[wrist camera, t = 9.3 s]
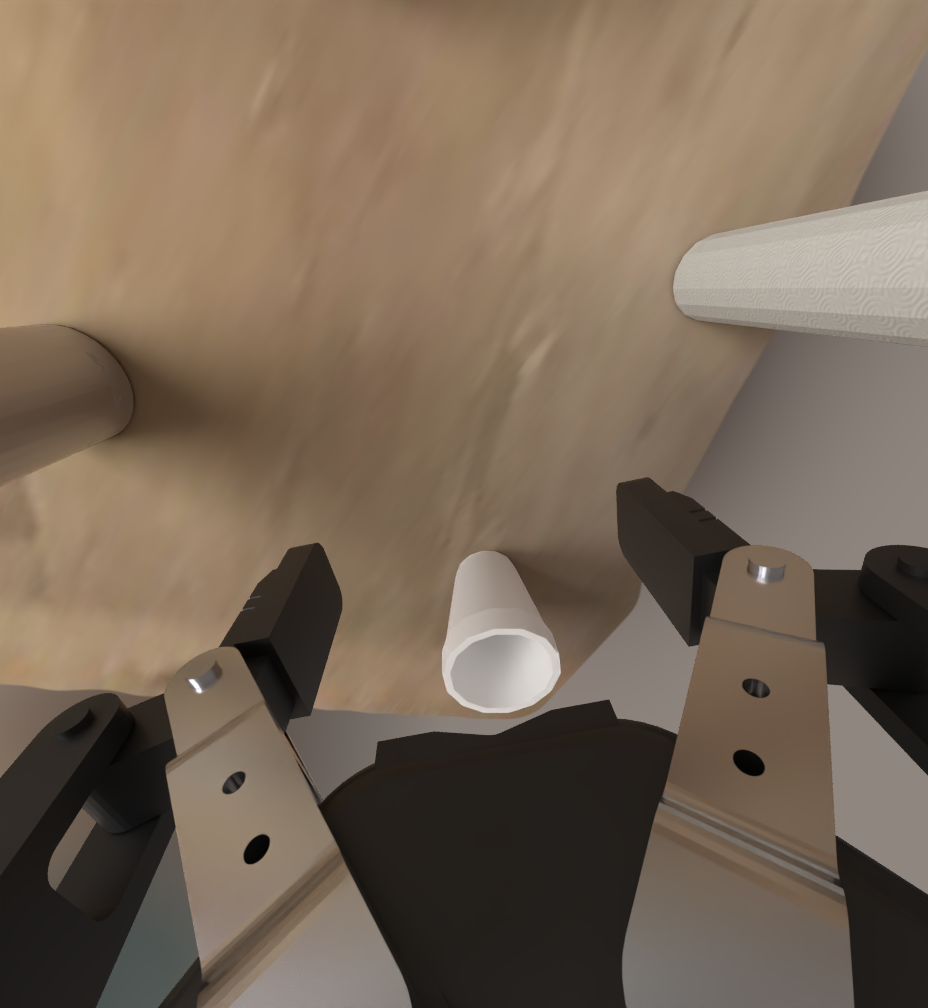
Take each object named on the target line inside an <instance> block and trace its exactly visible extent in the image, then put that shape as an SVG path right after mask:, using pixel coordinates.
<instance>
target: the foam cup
mask: <svg viewBox="0 0 928 1008" xmlns="http://www.w3.org/2000/svg"><path fill="white" fill-rule="evenodd" d="M442 674H443V678H444V682H445V685H446V689H447V692H448V693H449V694H450V695H451V696H452V697H454V698H455V699H456V700H457V701H458V702H459V703H460V704H461V705H462V706H465V707H468V708H471V709H474V710H477V711H480V712H483V713H510V712H513V711H516V710H519V709H522V708H525V707H528V706H531V705H533V704H535V703H536V702H537V701H539V700H540V699H541V698H543V697H544V696H545V695H547V694H548V693H549V692H551V691H552V689H553V687H554V685H555V683H556V681H557V679H558V677H559V676H560V674H561V671H560V659H559V653H558V650H557V647H556V644H555V641H554V638H553V635H552V632H551V631H550V630H549V629H548V627H547V626H546V625H545V624H544V622H543V620H542V618H541V616H540V614H539V612H538V610H537V608H536V607H535V605H534V603H533V601H532V599H531V597H530V595H529V593H528V591H527V589H526V587H525V585H524V584H523V582H522V580H521V578H520V576H519V574H518V572H517V570H516V568H515V567H514V565H513V564H512V562H511V561H510V560H509V559H508V557H507V556H505V555H503V554H500V553H498V552H496V551H480V552H477V553H474V554H472V555H469V556H468V557H467V558H466V559H465V560H464V561H463V562H462V563H461V564H460V565H459V568H458V571H457V574H456V578H455V584H454V591H453V598H452V604H451V611H450V617H449V624H448V631H447V637H446V641H445V644H444V647H443V650H442Z"/></svg>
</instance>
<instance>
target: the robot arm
mask: <svg viewBox="0 0 928 1008" xmlns="http://www.w3.org/2000/svg"><path fill="white" fill-rule="evenodd" d="M133 405H134V398H133V393H132V388H131V385H130V383H129V380H128V378H127V376H126V374H125V372H124V371H123V369H122V367H121V366H120V364H119V363H118V362H117V361H116V359H115V358H114V357H113V356H112V355H111V354H110V353H109V352H108V351H107V350H106V349H105V348H104V347H102V346H101V345H100V344H99V343H98V342H96V341H95V340H93V339H91V338H90V337H88V336H86V335H85V334H83V333H81V332H78V331H76V330H73V329H71V328H68V327H63V326H59V325H44V324H41V325H30V326H18V327H7V328H0V487H1V486H3V485H5V484H8V483H10V482H12V481H14V480H17V479H19V478H21V477H23V476H25V475H28V474H30V473H32V472H34V471H37V470H39V469H41V468H43V467H45V466H48V465H50V464H52V463H54V462H57V461H59V460H61V459H63V458H66V457H68V456H70V455H72V454H74V453H77V452H79V451H82V450H84V449H86V448H88V447H90V446H92V445H95V444H97V443H99V442H101V441H103V440H106V439H108V438H110V437H112V436H114V435H116V434H118V433H119V432H121V431H122V430H123V429H124V428H125V427H126V426H127V424H128V422H129V421H130V419H131V416H132V413H133ZM616 496H617V523H618V539H619V544H620V547H621V550H622V552H623V555H624V556H625V558H626V559H627V561H628V562H629V564H630V565H631V566H632V568H633V569H634V571H635V572H636V573H637V575H638V576H639V578H640V579H641V580H642V582H643V583H644V585H645V586H646V587H647V589H648V590H649V592H650V593H651V594H652V596H653V597H654V598H655V600H656V601H657V603H658V604H659V605H660V607H661V608H662V610H663V611H664V613H665V614H666V615H667V617H668V618H669V620H670V621H671V622H672V624H673V625H674V626H675V628H676V629H677V631H678V632H679V634H680V635H681V636H682V638H683V639H684V641H685V642H686V643H687V645H688V646H695V645H699V647H698V651H697V656H696V660H695V664H694V668H693V672H692V677H691V681H690V685H689V689H688V693H687V698H686V702H685V706H684V710H683V715H682V719H681V723H680V727H679V731H678V735H677V734H675V733H673V732H670V731H668V730H665V729H663V728H660V727H657V726H654V725H650V724H647V723H643V722H639V721H633V720H627V719H617V717H616V715H615V713H614V710H613V708H612V705H611V703H610V700H604V701H599V702H593V703H588V704H582V705H576V706H571V707H566V708H560V709H555V710H551V711H548V712H546V713H544V714H542V715H540V716H537V717H535V718H533V719H531V720H528V721H526V722H524V723H522V724H519V725H517V726H515V727H513V728H511V729H508V730H506V731H504V732H502V733H499V734H496V735H476V734H462V733H447V732H429V733H423V734H418V735H412V736H407V737H401V738H396V739H390V740H385V741H379V742H378V745H377V751H376V759H375V763H374V764H372V765H370V766H368V767H366V768H364V769H363V770H361V771H359V772H357V773H356V774H354V775H353V776H352V777H350V778H349V779H347V780H346V781H345V782H343V783H342V784H341V785H340V786H338V787H337V788H336V789H335V790H334V791H333V792H332V793H330V794H329V795H328V796H327V798H325V800H323V798H322V796H321V794H320V793H319V791H318V789H317V787H316V785H315V783H314V782H313V780H312V778H311V776H310V774H309V772H308V770H307V768H306V766H305V765H304V763H303V761H302V759H301V757H300V755H299V753H298V752H297V750H296V748H295V746H294V744H293V742H292V740H291V739H290V737H289V735H288V733H287V732H286V729H287V726H288V723H289V720H290V719H295V718H300V717H305V716H310V715H311V712H312V709H313V705H314V702H315V699H316V695H317V692H318V689H319V685H320V682H321V679H322V675H323V672H324V669H325V665H326V662H327V659H328V655H329V652H330V649H331V645H332V642H333V639H334V635H335V632H336V629H337V625H338V622H339V619H340V615H341V612H342V595H341V591H340V588H339V585H338V583H337V580H336V578H335V575H334V573H333V570H332V568H331V565H330V563H329V560H328V558H327V556H326V553H325V551H324V549H323V547H322V546H321V544H319V543H314V544H309V545H304V546H299V547H294V548H290V549H289V550H288V551H287V553H286V554H285V556H284V558H283V559H282V561H281V563H280V565H279V566H278V568H277V569H275V570H272V571H271V572H270V573H269V574H268V575H267V576H266V577H265V578H264V579H262V580H261V581H260V582H259V583H258V584H257V586H256V588H255V589H254V591H253V593H252V594H251V596H250V600H248V601H247V602H246V604H245V606H244V607H243V611H241V612H240V614H239V615H238V617H237V619H236V620H235V622H234V623H233V625H232V627H231V628H230V630H229V631H228V633H227V635H226V636H225V638H224V640H223V641H222V643H221V644H220V646H219V648H215V649H212V650H209V651H207V652H204V653H202V654H200V655H198V656H197V657H195V658H193V659H192V660H190V661H189V662H188V663H186V664H185V665H184V666H182V667H181V668H180V669H179V670H178V671H177V672H176V673H175V674H174V675H173V677H172V678H171V679H170V681H169V682H168V684H167V686H166V688H165V692H164V693H163V694H161V695H159V696H156V697H154V698H151V699H149V700H147V701H144V702H142V703H139V704H137V705H135V706H132V707H130V708H127V707H126V706H125V705H124V703H123V702H122V701H121V700H120V699H119V697H118V696H117V695H115V694H112V693H104V694H100V695H96V696H93V697H90V698H87V699H85V700H83V701H81V702H79V703H77V704H75V705H73V706H72V707H70V708H69V709H67V710H65V711H64V712H62V713H61V714H60V715H58V716H57V717H56V718H54V719H53V720H52V721H51V722H50V723H49V724H47V725H46V726H45V727H44V728H43V729H42V730H41V731H40V733H38V735H37V736H36V737H35V738H34V739H33V740H32V742H31V743H30V744H29V745H28V746H27V747H26V749H25V750H24V751H23V752H22V753H21V754H20V756H19V757H18V758H17V759H16V760H15V762H14V763H13V764H12V765H11V766H10V767H9V768H8V770H7V771H6V772H5V773H4V774H3V775H2V777H1V778H0V1008H96V1006H97V1004H98V1001H99V999H100V997H101V994H102V992H103V990H104V988H105V985H106V983H107V981H108V979H109V976H110V974H111V972H112V969H113V967H114V965H115V963H116V961H117V958H118V956H119V953H120V951H121V949H122V947H123V945H124V942H125V940H126V938H127V936H128V933H129V931H130V929H131V927H132V924H133V922H134V920H135V917H136V915H137V913H138V911H139V909H140V906H141V904H142V901H143V899H144V897H145V895H146V893H147V890H148V888H149V886H150V884H151V881H152V879H153V877H154V874H155V872H156V870H157V868H158V865H159V863H160V861H161V859H162V856H163V854H164V852H165V849H166V847H167V845H168V843H169V841H170V838H171V836H172V834H173V832H174V829H175V827H176V831H177V837H178V842H179V848H180V853H181V859H182V864H183V869H184V875H185V880H186V886H187V892H188V898H189V903H190V908H191V914H192V920H193V924H194V931H195V936H196V942H197V947H198V952H199V957H198V958H197V959H196V960H195V962H194V963H193V964H192V965H191V967H190V968H189V969H188V970H187V972H186V973H185V974H184V976H183V977H182V978H181V979H180V981H179V982H178V983H177V984H176V986H175V987H174V988H173V989H172V991H171V992H170V993H169V995H168V996H167V997H166V998H165V999H164V1001H163V1002H162V1003H161V1005H160V1006H159V1007H158V1008H928V894H926V893H925V892H923V891H922V890H920V889H918V888H917V887H915V886H914V885H912V884H911V883H909V882H907V881H906V880H904V879H903V878H901V877H900V876H898V875H897V874H895V873H893V872H892V871H890V870H889V869H887V868H886V867H884V866H883V865H881V864H880V863H878V862H877V861H875V860H874V859H872V858H870V857H869V856H867V855H866V854H864V853H863V852H861V851H859V850H858V849H857V848H855V847H853V846H852V845H850V844H849V843H847V842H846V841H844V840H843V839H841V838H839V837H838V836H836V835H835V818H834V801H833V782H832V763H831V746H830V727H829V709H828V691H827V684H831V685H842V686H843V687H844V688H845V689H846V690H847V691H848V692H849V693H850V694H851V695H852V696H853V697H854V698H855V699H856V700H857V701H858V702H859V703H860V704H861V705H862V706H863V708H864V709H865V710H866V711H867V712H868V713H869V714H870V715H871V716H872V717H873V718H874V719H875V720H876V721H877V722H878V723H879V724H880V725H881V726H882V728H883V729H884V730H885V731H886V732H887V733H888V734H889V735H890V736H891V737H892V738H893V739H894V740H895V741H896V742H897V743H898V744H899V746H900V747H901V748H902V749H903V750H904V751H905V752H906V753H907V754H908V755H909V756H910V757H911V758H912V759H913V760H914V761H915V762H916V763H917V765H918V766H919V767H920V768H921V769H922V770H923V771H924V772H925V773H926V774H927V775H928V548H922V547H916V546H907V545H889V546H881V547H877V548H874V549H872V550H870V551H869V552H867V554H866V555H865V558H864V562H863V566H862V569H861V570H818V569H812V567H811V566H810V564H809V563H808V562H807V561H805V560H804V559H803V558H801V557H800V556H798V555H796V554H794V553H792V552H789V551H786V550H784V549H780V548H776V547H770V546H762V545H750V544H749V543H747V542H746V541H745V540H744V539H742V538H741V537H740V536H739V535H737V534H736V533H735V532H734V531H732V530H731V529H730V528H729V527H727V526H726V525H725V524H724V523H722V522H721V521H720V520H719V519H716V518H715V516H713V515H712V514H711V513H710V512H709V511H705V508H704V507H702V506H701V505H700V504H699V503H697V502H696V501H695V500H694V499H692V498H690V497H687V496H685V495H682V494H679V493H677V492H674V491H671V492H666V491H664V490H663V489H662V488H661V487H660V486H659V485H657V484H656V483H655V482H654V481H653V480H652V479H650V478H648V477H647V478H642V479H637V480H632V481H627V482H622V483H619V484H618V485H617V490H616ZM81 808H83V810H85V811H86V812H87V813H88V814H89V815H90V816H91V817H92V818H93V819H94V820H95V821H96V824H95V826H94V828H93V829H92V831H91V833H90V834H89V836H88V838H87V839H86V841H85V843H84V844H83V846H82V848H81V850H80V851H79V853H78V854H77V856H76V858H75V859H74V861H73V863H72V865H71V866H70V868H69V869H68V871H67V873H66V874H65V876H64V878H63V880H62V881H61V883H60V884H59V886H58V888H57V890H56V891H55V890H54V889H52V887H51V886H50V884H49V882H48V874H47V873H48V866H49V862H50V859H51V856H52V854H53V852H54V850H55V849H56V847H57V845H58V844H59V842H60V841H61V839H62V838H63V836H64V834H65V833H66V831H67V830H68V828H69V827H70V825H71V824H72V822H73V820H74V819H75V817H76V816H77V814H78V813H79V811H80V810H81Z"/></svg>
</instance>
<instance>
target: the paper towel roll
mask: <svg viewBox="0 0 928 1008" xmlns="http://www.w3.org/2000/svg"><path fill="white" fill-rule="evenodd" d="M673 293H674V297H675V302H676V304H677V306H678V307H679V308H680V310H681V311H682V312H683V314H684V315H686V316H688V317H691V318H693V319H695V320H699V321H707V322H716V323H724V324H733V325H742V326H750V327H759V328H767V329H776V330H784V331H794V332H802V333H810V334H819V335H827V336H836V337H845V338H853V339H862V340H870V341H879V342H887V343H896V344H905V345H913V346H922V347H928V191H924V192H919V193H914V194H909V195H904V196H899V197H894V198H889V199H885V200H880V201H875V202H870V203H865V204H860V205H855V206H850V207H845V208H840V209H835V210H830V211H825V212H820V213H815V214H810V215H806V216H801V217H796V218H791V219H786V220H781V221H776V222H771V223H766V224H761V225H756V226H751V227H746V228H742V229H737V230H732V231H727V232H722V233H717V234H713V235H710V236H708V237H706V238H704V239H702V240H700V241H698V242H697V243H696V244H695V245H694V246H693V247H692V248H691V249H690V250H689V251H688V252H687V253H686V254H685V255H684V256H683V258H682V260H681V262H680V264H679V266H678V268H677V270H676V272H675V277H674V283H673Z"/></svg>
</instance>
